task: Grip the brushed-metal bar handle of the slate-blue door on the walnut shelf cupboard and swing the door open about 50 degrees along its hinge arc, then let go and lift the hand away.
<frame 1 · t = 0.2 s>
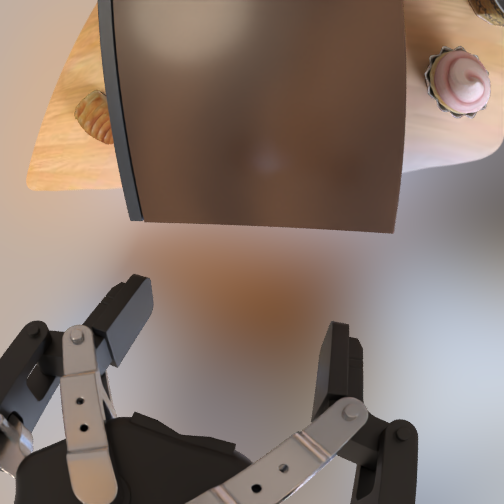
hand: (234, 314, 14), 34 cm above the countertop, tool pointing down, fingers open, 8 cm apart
door: (153, 57, 28), point 12 cm above the countertop, hinge at 0.0°
pastry: (104, 115, 45), on the countertop
cupboard: (291, 49, 35), on the countertop
cupcake: (445, 79, 32), on the countertop
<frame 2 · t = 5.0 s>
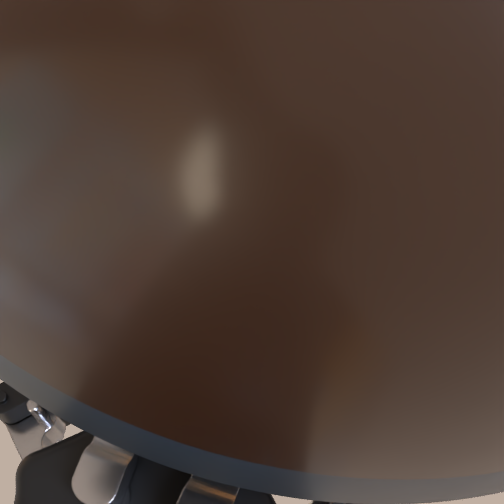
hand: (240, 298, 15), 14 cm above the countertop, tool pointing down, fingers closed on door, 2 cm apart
door: (467, 250, 13), point 12 cm above the countertop, hinge at 0.0°, touching gripper
cupboard: (444, 22, 16), on the countertop
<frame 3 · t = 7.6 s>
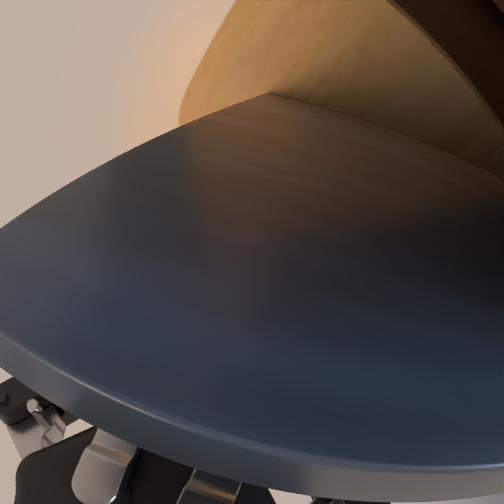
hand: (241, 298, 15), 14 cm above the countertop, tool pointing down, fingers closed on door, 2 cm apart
door: (463, 266, 14), point 12 cm above the countertop, hinge at 26.9°, touching gripper
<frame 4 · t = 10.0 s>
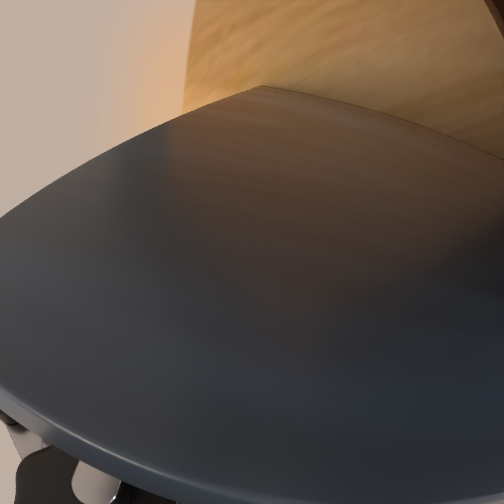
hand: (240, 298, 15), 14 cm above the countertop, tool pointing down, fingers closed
door: (471, 253, 13), point 12 cm above the countertop, hinge at 48.2°
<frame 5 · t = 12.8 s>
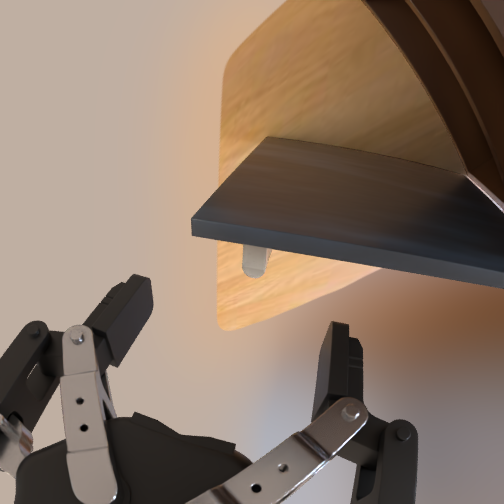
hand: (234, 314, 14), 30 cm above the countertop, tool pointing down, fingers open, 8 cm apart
door: (379, 220, 28), point 12 cm above the countertop, hinge at 48.2°
cupboard: (475, 57, 26), on the countertop
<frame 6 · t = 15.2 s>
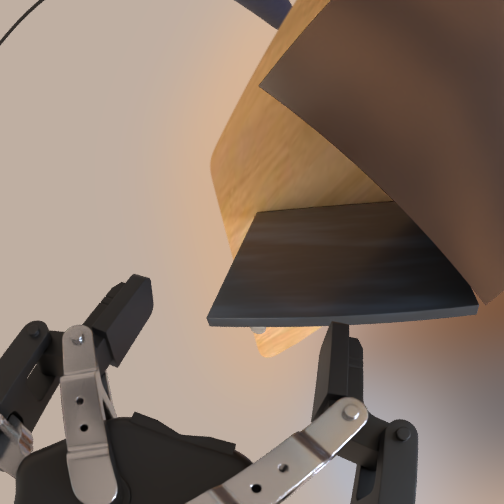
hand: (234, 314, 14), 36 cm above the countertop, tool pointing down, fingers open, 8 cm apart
door: (344, 270, 39), point 12 cm above the countertop, hinge at 48.2°
cupboard: (409, 95, 36), on the countertop
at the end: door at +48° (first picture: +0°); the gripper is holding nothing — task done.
